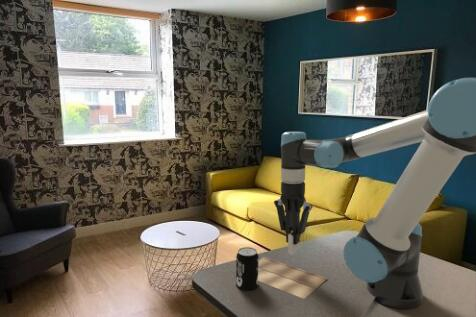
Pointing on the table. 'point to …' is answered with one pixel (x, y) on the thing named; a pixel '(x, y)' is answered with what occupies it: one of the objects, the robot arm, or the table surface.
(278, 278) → the laid plank
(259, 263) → the loose plank
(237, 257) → the beverage can
